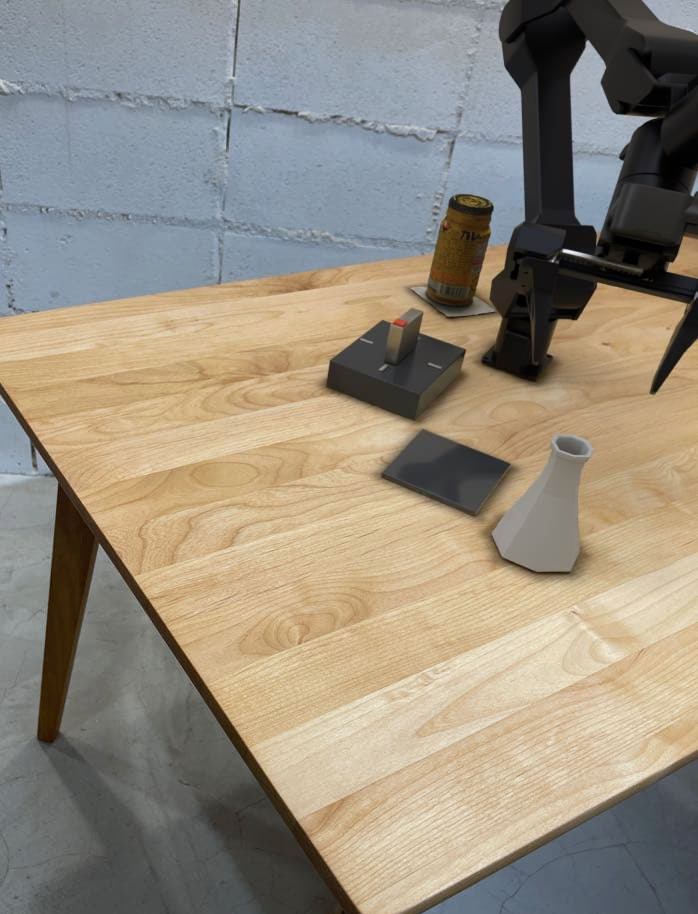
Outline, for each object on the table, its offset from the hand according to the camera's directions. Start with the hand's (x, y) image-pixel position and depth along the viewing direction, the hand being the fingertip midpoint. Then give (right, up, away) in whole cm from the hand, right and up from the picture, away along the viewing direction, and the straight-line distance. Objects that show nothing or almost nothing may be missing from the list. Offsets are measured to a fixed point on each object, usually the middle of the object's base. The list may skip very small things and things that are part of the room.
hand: (593, 377), depth 66 cm
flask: (-4, -13, +3) cm, 14 cm away
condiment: (-4, +17, +39) cm, 43 cm away
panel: (-13, +4, +22) cm, 26 cm away
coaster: (-10, -7, +10) cm, 15 cm away
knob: (-13, +6, +20) cm, 24 cm away
